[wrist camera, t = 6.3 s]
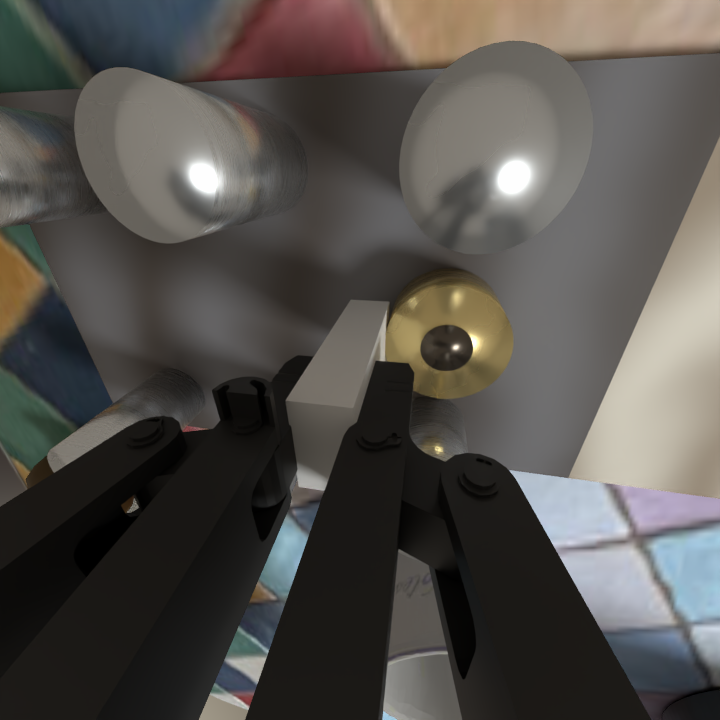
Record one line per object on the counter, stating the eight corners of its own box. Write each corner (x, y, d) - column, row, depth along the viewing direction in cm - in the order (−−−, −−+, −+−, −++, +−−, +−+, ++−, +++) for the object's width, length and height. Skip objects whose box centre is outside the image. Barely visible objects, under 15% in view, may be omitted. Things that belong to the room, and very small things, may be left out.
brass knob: (503, 261, 12) (518, 281, 10) (499, 365, 14) (510, 399, 12) (385, 274, 13) (376, 295, 11) (397, 369, 15) (391, 401, 13)
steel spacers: (526, 102, 10) (625, 33, 5) (459, 450, 17) (469, 570, 12) (51, 120, 13) (-202, 88, 8) (162, 411, 20) (69, 495, 15)
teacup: (417, 469, 19) (408, 630, 13) (596, 531, 19) (685, 731, 12) (356, 579, 27) (329, 720, 20) (485, 625, 26) (502, 784, 20)
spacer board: (1374, 26, 7) (1471, 11, 7) (846, 502, 15) (866, 518, 15) (-8, 98, 14) (-32, 94, 13) (129, 408, 22) (119, 416, 21)
